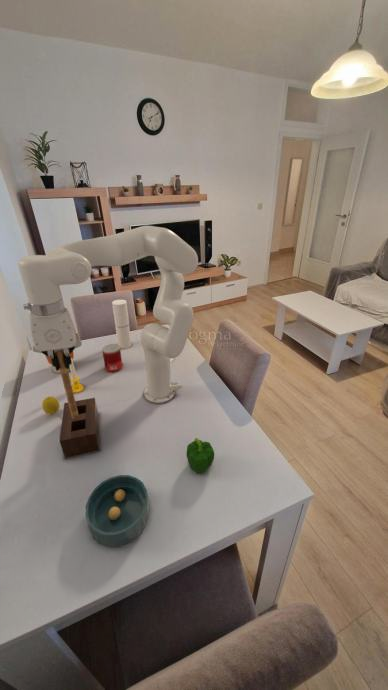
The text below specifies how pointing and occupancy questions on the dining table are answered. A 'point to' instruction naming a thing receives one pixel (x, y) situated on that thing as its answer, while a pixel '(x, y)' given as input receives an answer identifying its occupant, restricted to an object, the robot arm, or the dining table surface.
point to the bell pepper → (200, 455)
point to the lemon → (50, 405)
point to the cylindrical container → (121, 323)
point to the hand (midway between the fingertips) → (63, 366)
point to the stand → (80, 429)
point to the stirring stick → (67, 383)
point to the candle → (75, 380)
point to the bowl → (131, 511)
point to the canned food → (112, 357)
